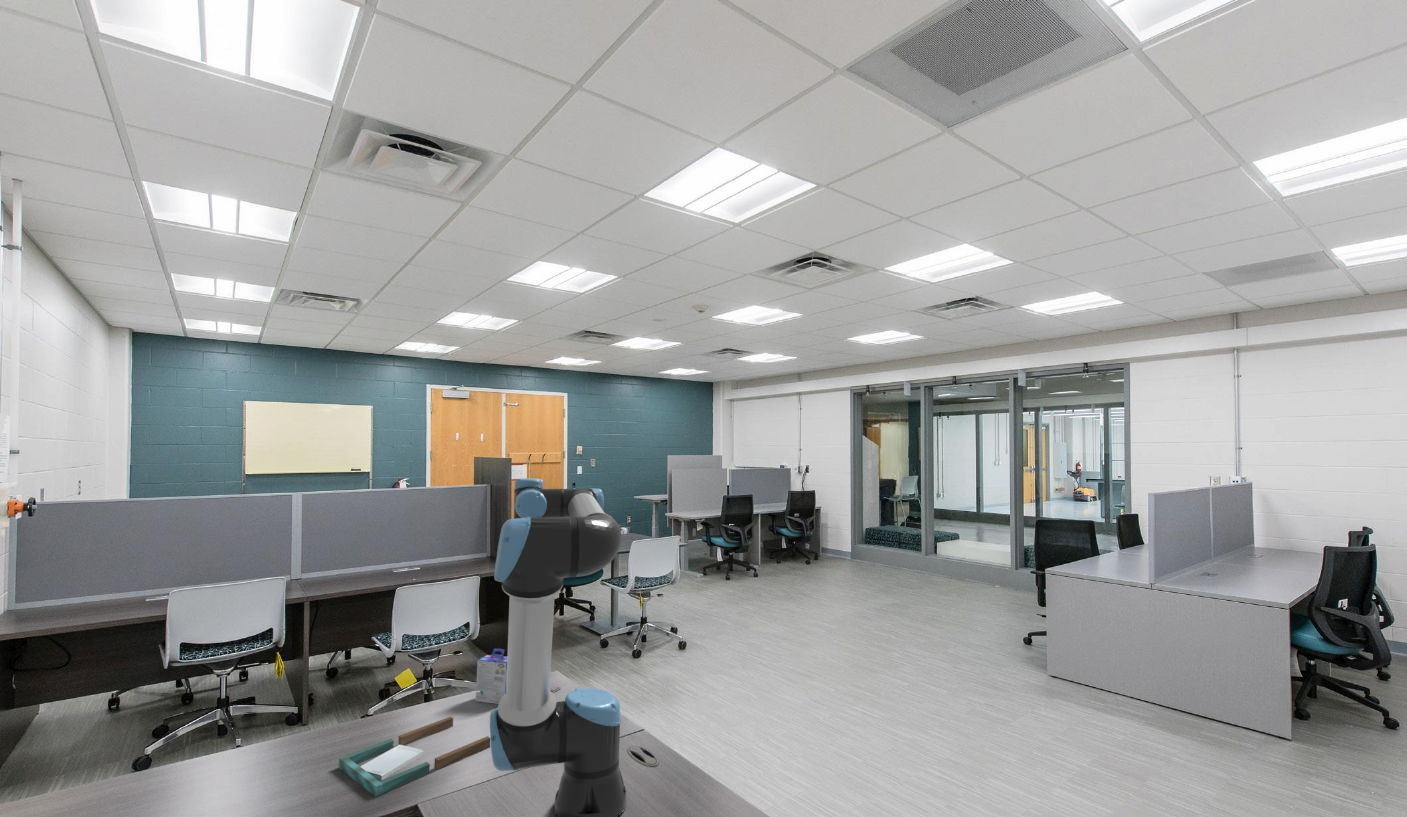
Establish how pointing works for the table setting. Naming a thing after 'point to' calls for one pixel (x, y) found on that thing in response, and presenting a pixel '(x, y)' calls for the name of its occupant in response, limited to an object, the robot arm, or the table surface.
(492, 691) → the ink cartridge box
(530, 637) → the robot arm
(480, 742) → the chute
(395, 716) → the table surface
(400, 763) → the hard drive
